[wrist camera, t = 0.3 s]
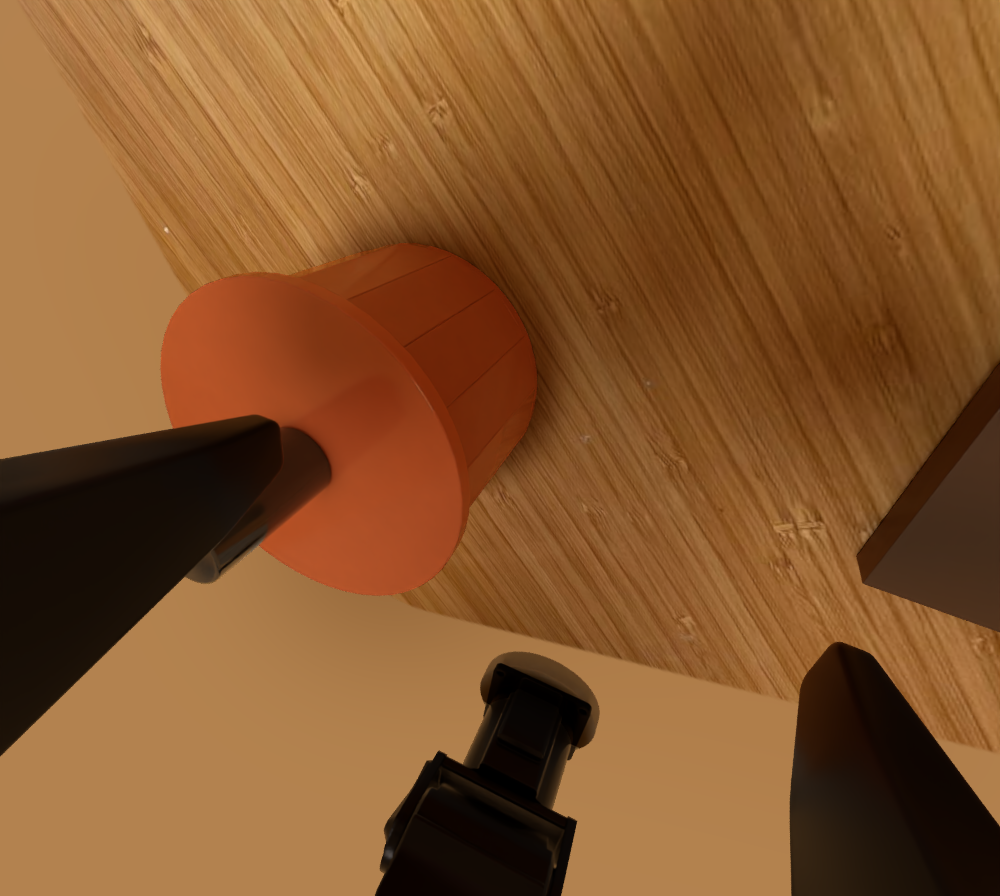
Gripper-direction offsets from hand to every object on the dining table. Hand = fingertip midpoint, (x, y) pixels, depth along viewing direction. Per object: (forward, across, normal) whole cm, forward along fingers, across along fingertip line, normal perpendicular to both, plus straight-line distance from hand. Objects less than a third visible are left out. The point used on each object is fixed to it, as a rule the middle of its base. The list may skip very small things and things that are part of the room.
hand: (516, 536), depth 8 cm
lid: (+6, +8, +5) cm, 11 cm away
